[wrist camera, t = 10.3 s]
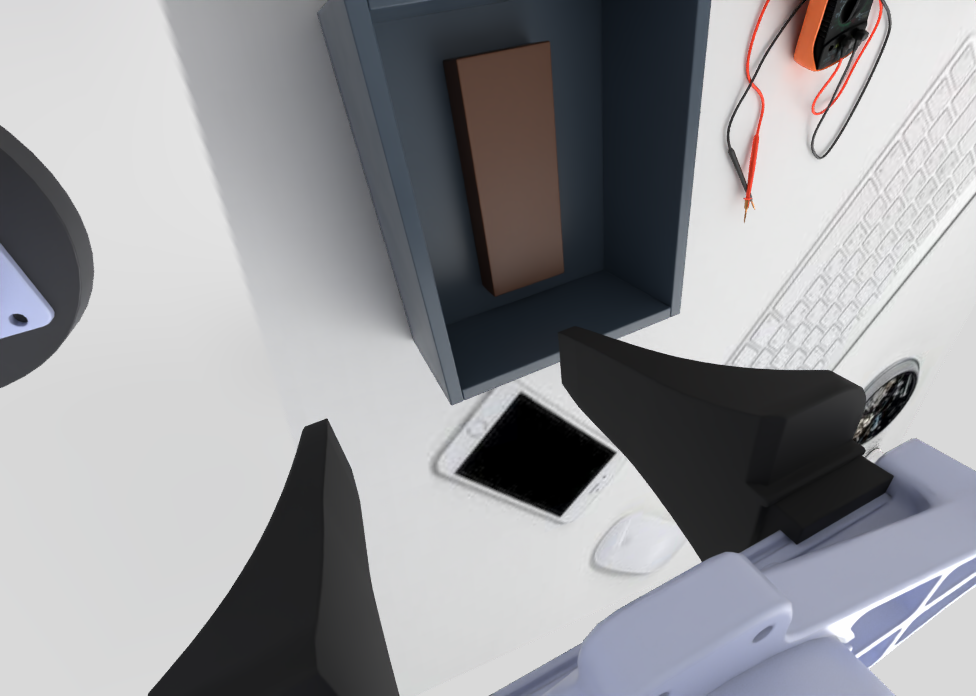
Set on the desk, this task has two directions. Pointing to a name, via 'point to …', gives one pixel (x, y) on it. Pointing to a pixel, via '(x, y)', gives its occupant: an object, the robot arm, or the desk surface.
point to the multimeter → (818, 58)
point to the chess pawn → (874, 455)
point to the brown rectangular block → (509, 162)
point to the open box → (580, 154)
